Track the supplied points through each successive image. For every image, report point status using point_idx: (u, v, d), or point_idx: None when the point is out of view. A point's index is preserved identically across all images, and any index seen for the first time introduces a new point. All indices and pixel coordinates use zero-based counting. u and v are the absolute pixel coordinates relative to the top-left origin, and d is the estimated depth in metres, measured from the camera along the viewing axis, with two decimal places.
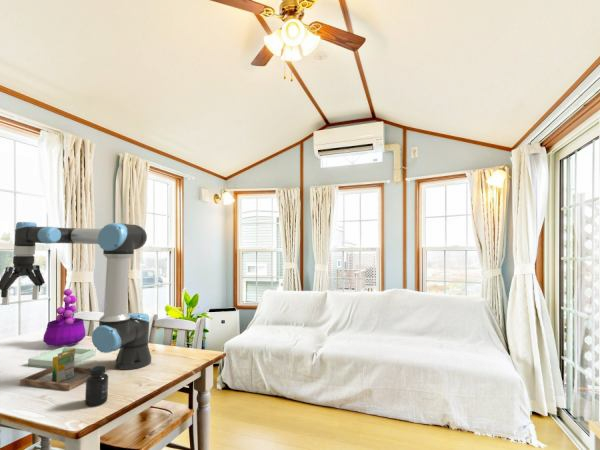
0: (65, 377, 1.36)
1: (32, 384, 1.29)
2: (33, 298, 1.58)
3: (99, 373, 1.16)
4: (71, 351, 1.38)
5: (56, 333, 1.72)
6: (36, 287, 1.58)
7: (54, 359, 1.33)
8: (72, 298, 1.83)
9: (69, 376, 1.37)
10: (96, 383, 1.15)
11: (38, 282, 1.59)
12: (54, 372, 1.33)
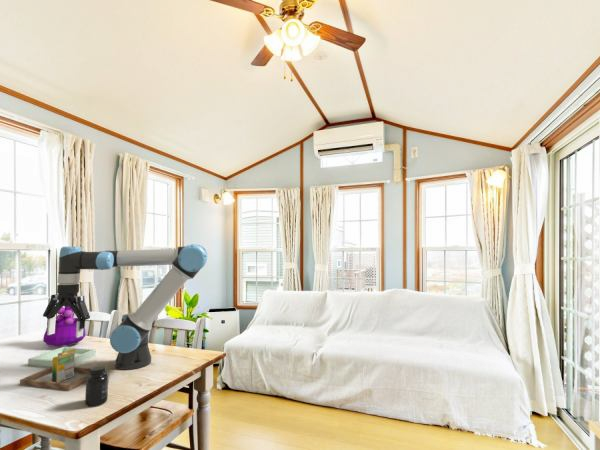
0: (65, 377, 1.36)
1: (32, 384, 1.29)
2: None
3: (99, 373, 1.16)
4: (71, 351, 1.38)
5: (56, 333, 1.72)
6: None
7: (54, 359, 1.33)
8: None
9: (69, 376, 1.37)
10: (96, 383, 1.15)
11: (78, 317, 1.35)
12: (54, 372, 1.33)
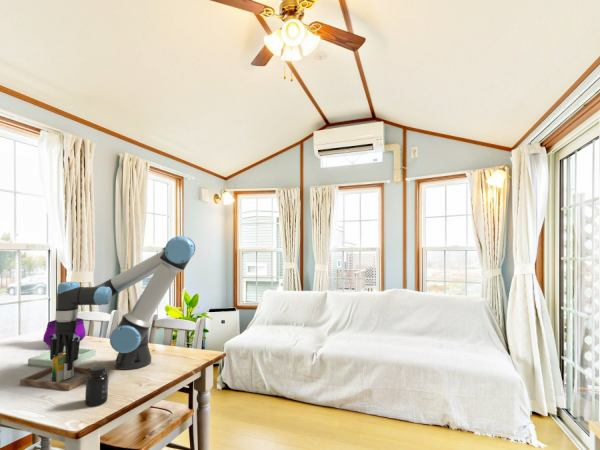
0: None
1: (32, 384, 1.29)
2: None
3: (99, 373, 1.16)
4: None
5: None
6: None
7: (54, 359, 1.33)
8: None
9: None
10: (96, 383, 1.15)
11: (67, 358, 1.35)
12: (54, 372, 1.33)
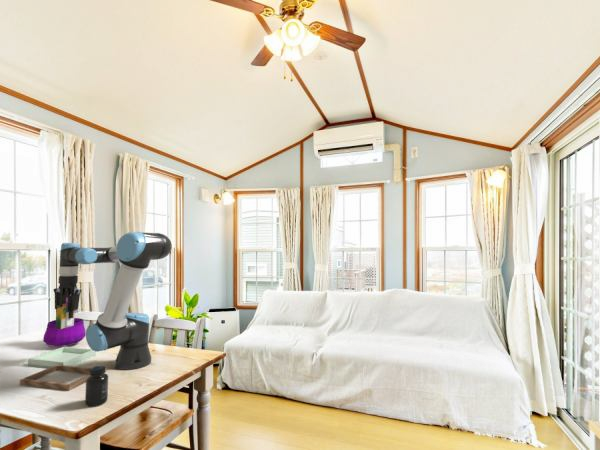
0: None
1: (32, 384, 1.29)
2: None
3: (99, 373, 1.16)
4: None
5: (56, 333, 1.72)
6: None
7: (58, 309, 1.54)
8: None
9: (70, 325, 1.59)
10: (96, 383, 1.15)
11: (68, 307, 1.56)
12: (59, 320, 1.54)
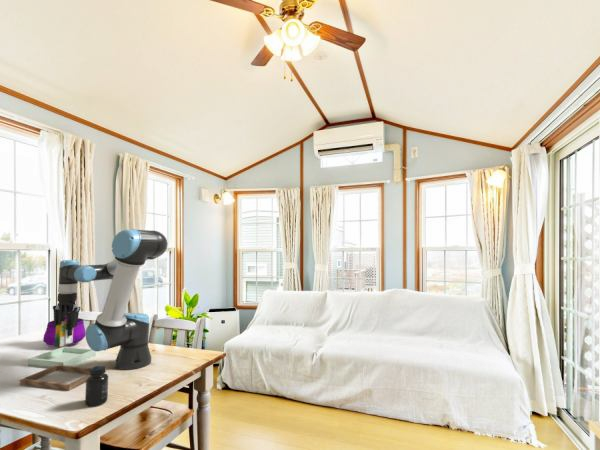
0: None
1: (32, 384, 1.29)
2: None
3: (99, 373, 1.16)
4: None
5: None
6: None
7: (57, 327, 1.54)
8: None
9: (69, 342, 1.59)
10: (96, 383, 1.15)
11: (67, 325, 1.56)
12: (58, 338, 1.54)
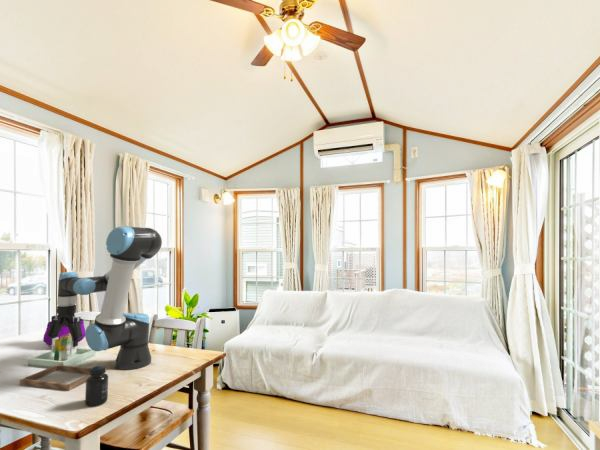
0: (65, 357, 1.57)
1: (32, 384, 1.29)
2: None
3: (99, 373, 1.16)
4: (70, 334, 1.59)
5: None
6: None
7: (56, 341, 1.54)
8: None
9: (68, 356, 1.58)
10: (96, 383, 1.15)
11: (72, 336, 1.55)
12: (57, 352, 1.53)
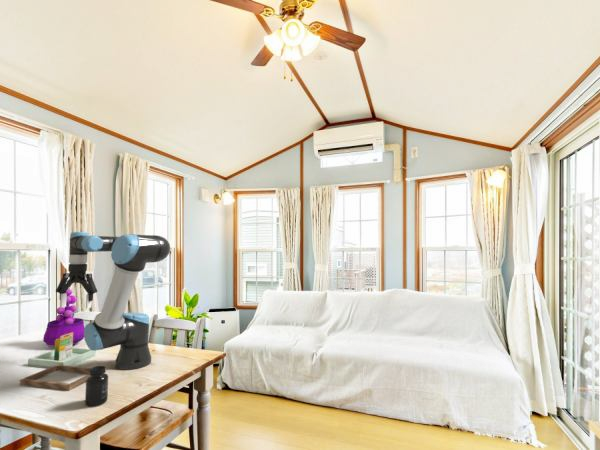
0: (65, 356, 1.57)
1: (32, 384, 1.29)
2: None
3: (99, 373, 1.16)
4: (70, 334, 1.59)
5: (56, 333, 1.72)
6: None
7: (56, 341, 1.54)
8: (72, 298, 1.83)
9: (68, 356, 1.58)
10: (96, 383, 1.15)
11: (87, 291, 1.59)
12: (57, 352, 1.53)
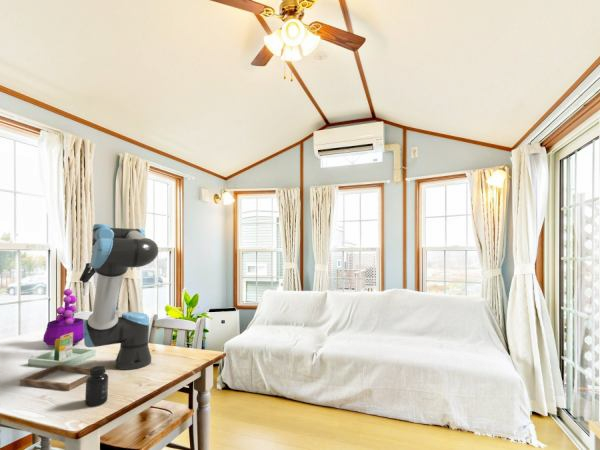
0: (65, 357, 1.57)
1: (32, 384, 1.29)
2: None
3: (99, 373, 1.16)
4: (70, 334, 1.59)
5: (56, 333, 1.72)
6: None
7: (56, 341, 1.54)
8: (72, 298, 1.83)
9: (68, 356, 1.58)
10: (96, 383, 1.15)
11: None
12: (57, 352, 1.53)
